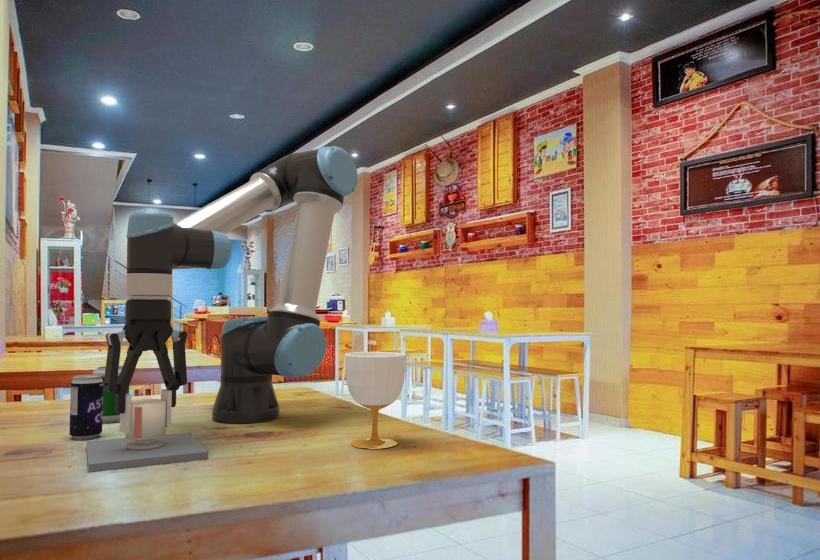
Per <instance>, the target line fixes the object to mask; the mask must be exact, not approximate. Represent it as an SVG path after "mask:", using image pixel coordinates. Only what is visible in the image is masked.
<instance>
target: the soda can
mask: <svg viewBox="0 0 820 560" xmlns="http://www.w3.org/2000/svg"><path fill="white" fill-rule="evenodd" d="M122 367H123V365H119V369H118V377H117V381H118V378H119V375H120V373H121V370H122ZM105 369H106V365H103V366H97V367H96V369H95V370H93V371H92V375H101V378H102V380H103V386H104V378H105ZM127 394H130V386H129V387H128V390H127ZM114 422H115V423H120V414H118V413H116V412H115V394H114V393H113V392H109V391H106V390H104V389H103V417H102V424H113V423H114ZM115 423H114V424H115Z"/></svg>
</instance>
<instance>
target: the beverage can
mask: <svg viewBox="0 0 820 560" xmlns="http://www.w3.org/2000/svg"><path fill="white" fill-rule="evenodd" d="M72 378H73V379H72V381H71V383H70V400H69V401H70V402H69V403H70V405H69V431H68V432H69V433H68V434H69V436H70V437H72V438H73V440H76V441H78V440H79V441H82V440H85V441H86V440H87V441H88V440H92V439H93V440H94V439H97V438H98V437H99V435H101V433H103V423H102V417H103V380H102V378H101V375H93V374H81V375H75V376H73V377H72Z"/></svg>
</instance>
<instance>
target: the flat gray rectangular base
mask: <svg viewBox="0 0 820 560" xmlns="http://www.w3.org/2000/svg"><path fill="white" fill-rule="evenodd" d="M208 458H209V451H208V450H207V448H206V447H204V445H203V444H202V443H201V442H200V441H199V440H198V438H197V437H196V436H195V435H194V434H193V433H192V432H191V431H187V432H178V433H176V432H175V433H167V434H166V433H165V436H163V437H160V438H156V439H149V440H129V439H126V437H121V438H111V439H110V438H107V439H99V440H98V439H97V440H87V441H86V459H87V472H88V473H92V472H93V473H94V472H103V471H111V470H118V469H119V470H121V469H128V468H136V467H137V468H140V467H146V466H147V467H149V466H156V465H164V464H165V465H166V464H171V463H173V464H174V463H181V462H192V461H199V460H208Z"/></svg>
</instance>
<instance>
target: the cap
mask: <svg viewBox="0 0 820 560" xmlns="http://www.w3.org/2000/svg"><path fill="white" fill-rule="evenodd" d="M165 421H166V400H162V399H161V398H147V399H145V398H142V399H134V400H131V430H130V433H125V438H126V439H129V440H149V439H156V438H160V437H163V436H165V434H166V427H165Z"/></svg>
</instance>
